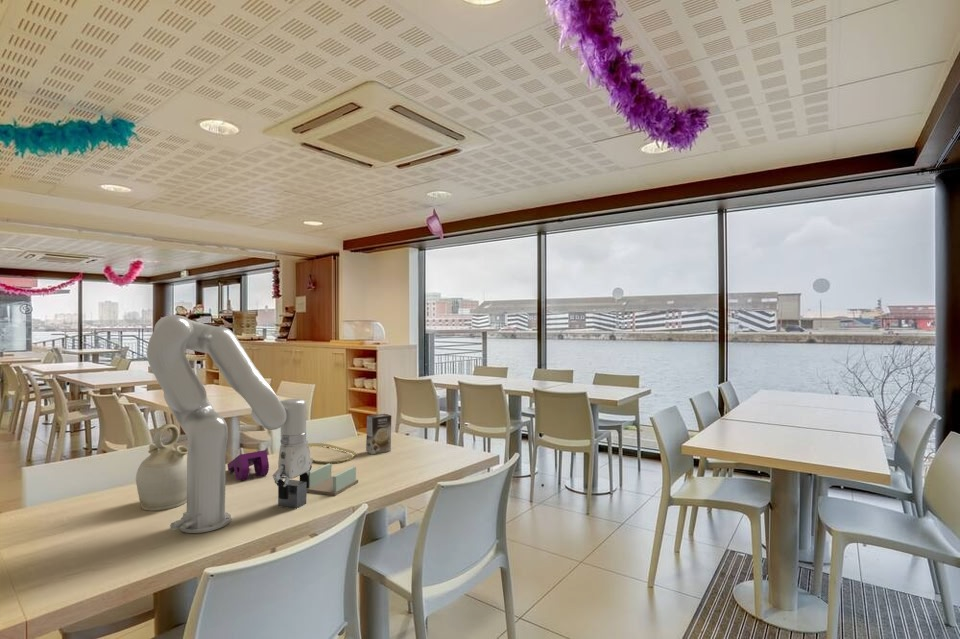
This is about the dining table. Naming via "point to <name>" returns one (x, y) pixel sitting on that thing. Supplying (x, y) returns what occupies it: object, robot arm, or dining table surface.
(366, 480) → the dining table surface
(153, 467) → the jug
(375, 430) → the coffee box
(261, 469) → the mounting bracket
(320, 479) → the post slot
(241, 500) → the dining table surface
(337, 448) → the gold oval ring
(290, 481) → the tall grey upright block
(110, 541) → the dining table surface
